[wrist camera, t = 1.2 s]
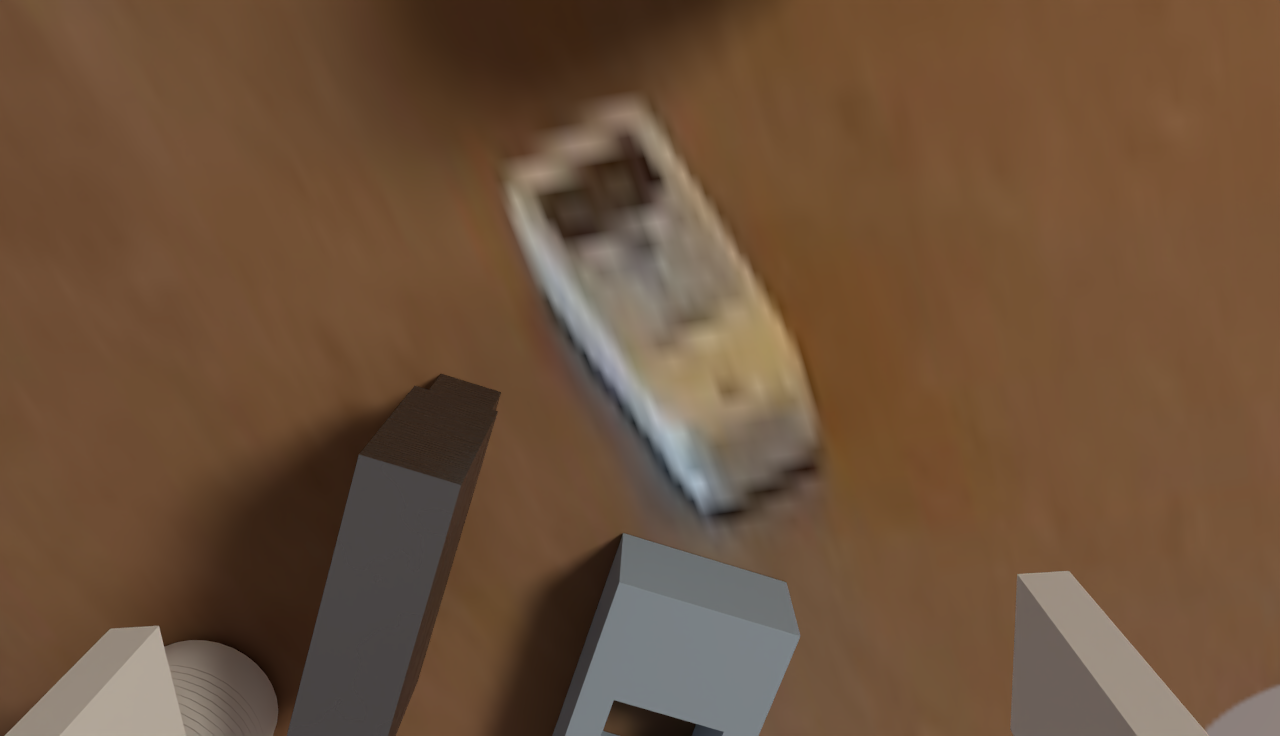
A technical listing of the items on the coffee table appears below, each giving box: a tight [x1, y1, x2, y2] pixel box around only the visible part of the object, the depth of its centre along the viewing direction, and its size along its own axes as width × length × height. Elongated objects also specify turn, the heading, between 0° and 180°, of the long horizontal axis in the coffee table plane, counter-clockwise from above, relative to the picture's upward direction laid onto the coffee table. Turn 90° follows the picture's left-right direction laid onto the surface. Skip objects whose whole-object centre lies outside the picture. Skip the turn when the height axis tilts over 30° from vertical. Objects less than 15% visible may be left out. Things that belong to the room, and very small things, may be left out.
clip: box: [287, 374, 501, 736], centre depth 34 cm, size 3×12×10 cm, turn 162°
